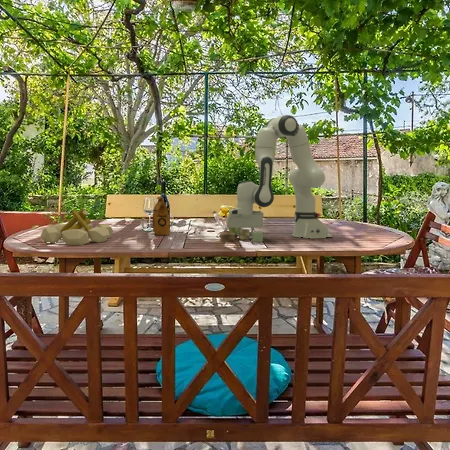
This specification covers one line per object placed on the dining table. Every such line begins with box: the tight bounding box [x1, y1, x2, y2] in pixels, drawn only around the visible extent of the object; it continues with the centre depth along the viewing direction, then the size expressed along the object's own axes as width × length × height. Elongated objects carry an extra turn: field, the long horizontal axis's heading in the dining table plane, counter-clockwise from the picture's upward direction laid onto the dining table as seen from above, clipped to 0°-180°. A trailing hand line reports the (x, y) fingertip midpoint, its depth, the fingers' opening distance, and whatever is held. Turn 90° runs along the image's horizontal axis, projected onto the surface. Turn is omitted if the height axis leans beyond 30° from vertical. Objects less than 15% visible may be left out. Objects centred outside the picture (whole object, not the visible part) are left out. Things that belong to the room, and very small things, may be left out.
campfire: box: [40, 207, 114, 246], centre depth 215 cm, size 35×34×17 cm
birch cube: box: [238, 228, 251, 240], centre depth 225 cm, size 5×5×5 cm
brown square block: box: [220, 232, 236, 243], centre depth 216 cm, size 7×7×4 cm
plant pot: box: [228, 228, 242, 236], centre depth 238 cm, size 9×9×9 cm
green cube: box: [251, 230, 264, 243], centre depth 218 cm, size 5×5×5 cm
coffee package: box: [152, 196, 171, 236], centre depth 238 cm, size 10×12×22 cm
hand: (244, 235), depth 225 cm, fingers closed on birch cube, 5 cm apart
